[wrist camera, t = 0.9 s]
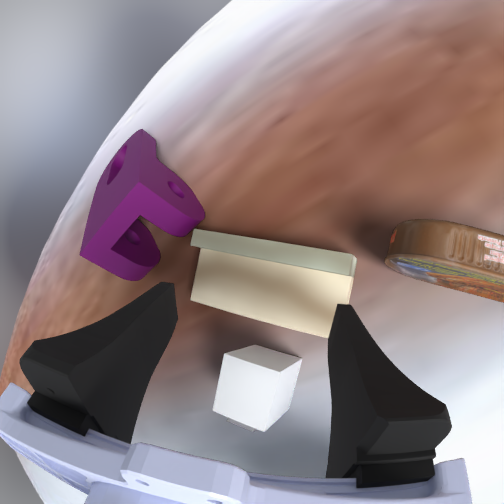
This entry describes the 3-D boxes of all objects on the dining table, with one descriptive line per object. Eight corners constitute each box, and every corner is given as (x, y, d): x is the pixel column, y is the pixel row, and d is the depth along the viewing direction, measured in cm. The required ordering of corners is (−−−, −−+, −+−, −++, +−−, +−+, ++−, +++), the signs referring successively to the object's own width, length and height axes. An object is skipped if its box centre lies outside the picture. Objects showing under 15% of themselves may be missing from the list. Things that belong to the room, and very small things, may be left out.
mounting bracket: (145, 202, 44) (148, 292, 31) (101, 171, 38) (79, 255, 25) (189, 157, 41) (211, 233, 28) (144, 120, 36) (138, 181, 23)
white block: (286, 416, 25) (261, 440, 20) (242, 400, 27) (210, 418, 22) (302, 358, 25) (279, 372, 20) (255, 344, 27) (224, 353, 22)
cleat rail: (340, 338, 24) (333, 343, 21) (199, 300, 30) (179, 299, 27) (357, 259, 24) (352, 254, 21) (213, 235, 30) (193, 228, 28)
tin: (384, 271, 23) (381, 258, 16) (393, 233, 23) (392, 203, 16) (538, 312, 16) (588, 316, 9) (545, 275, 16) (595, 264, 9)
